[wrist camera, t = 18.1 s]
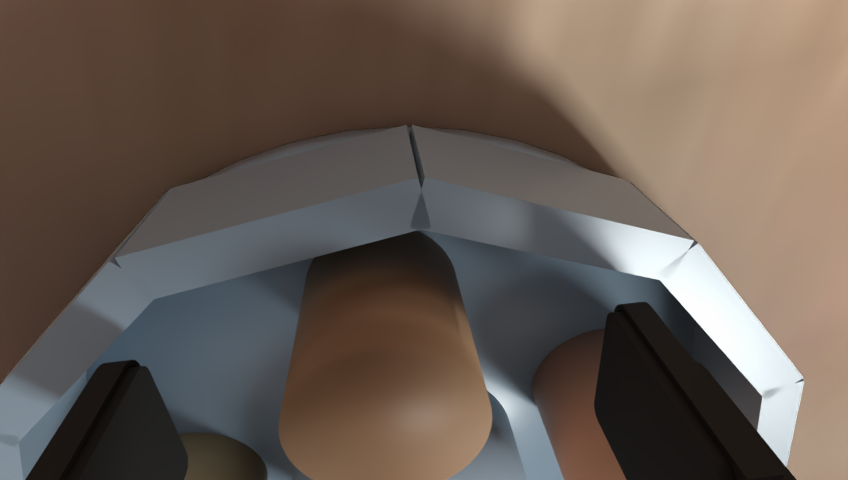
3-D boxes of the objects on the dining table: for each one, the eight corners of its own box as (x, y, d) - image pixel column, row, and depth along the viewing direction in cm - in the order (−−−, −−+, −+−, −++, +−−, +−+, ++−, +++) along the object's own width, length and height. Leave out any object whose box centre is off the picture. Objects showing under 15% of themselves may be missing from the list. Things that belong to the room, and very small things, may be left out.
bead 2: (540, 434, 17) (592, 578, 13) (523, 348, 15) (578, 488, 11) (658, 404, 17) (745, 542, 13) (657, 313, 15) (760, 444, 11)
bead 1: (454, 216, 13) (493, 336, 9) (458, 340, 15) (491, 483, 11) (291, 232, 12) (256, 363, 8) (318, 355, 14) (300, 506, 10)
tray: (241, 627, 23) (219, 746, 20) (-111, 251, 13) (-291, 365, 9) (694, 521, 22) (753, 625, 19) (724, 25, 12) (871, 57, 8)
